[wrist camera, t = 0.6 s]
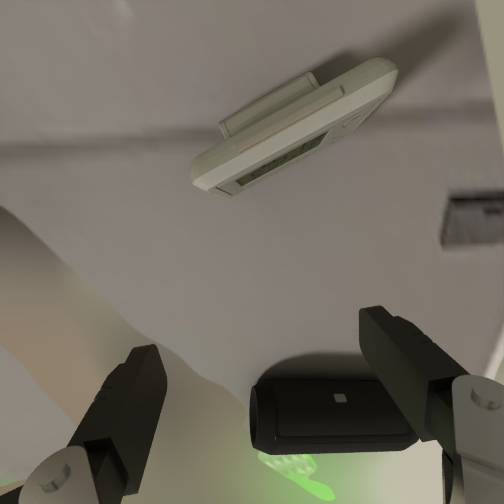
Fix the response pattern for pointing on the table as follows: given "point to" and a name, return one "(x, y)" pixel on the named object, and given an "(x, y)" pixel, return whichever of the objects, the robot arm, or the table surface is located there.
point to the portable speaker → (326, 418)
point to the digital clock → (291, 126)
